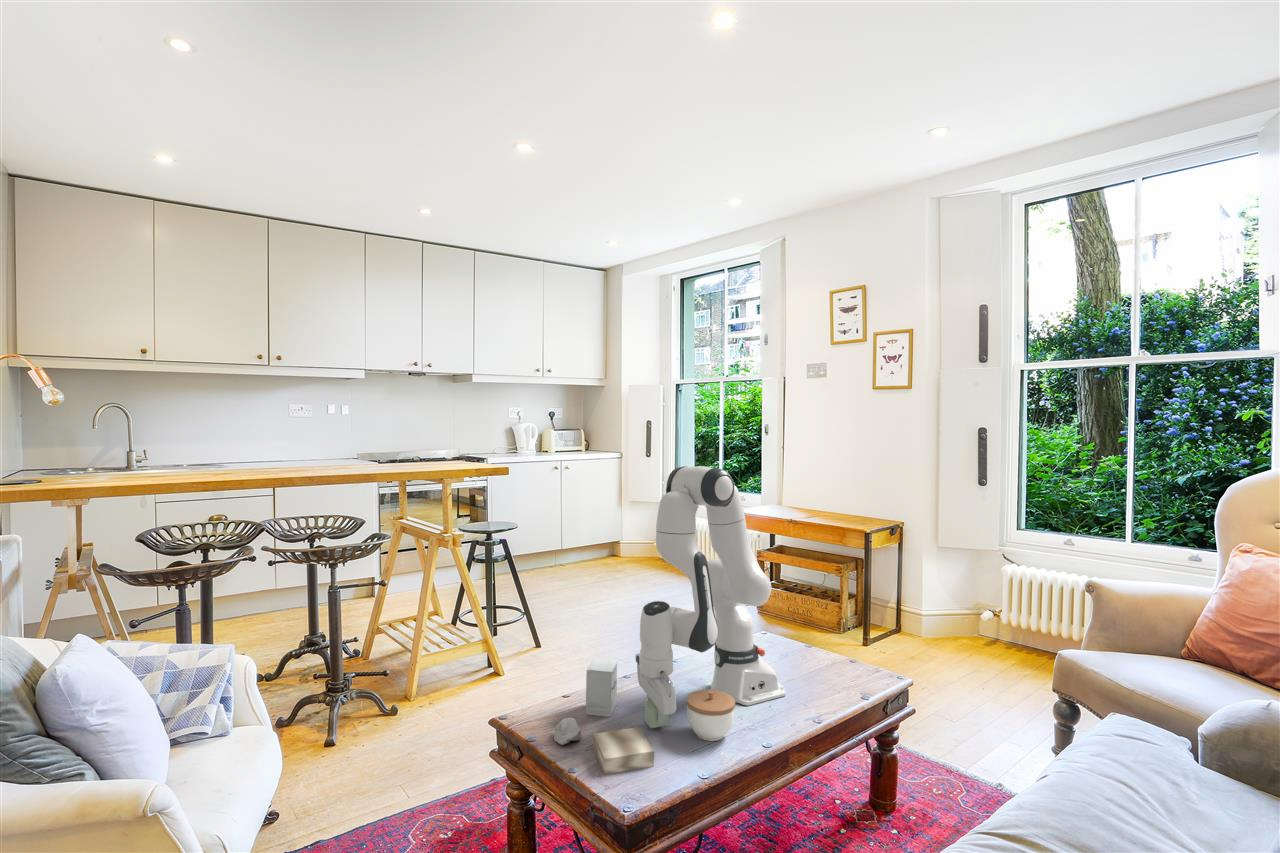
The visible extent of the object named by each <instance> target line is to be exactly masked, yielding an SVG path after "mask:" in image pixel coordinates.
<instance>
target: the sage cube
mask: <svg viewBox="0 0 1280 853" xmlns="http://www.w3.org/2000/svg"><path fill="white" fill-rule="evenodd" d="M657 714H658V708H657V707H656V706H655V704H654V703H653V702H652V700H644V720H645V722H646V724H648V726H649V728H650V729H654V728H659V727H660V728H661V727H665V726H669V724H670V723H669V721H670V720H669V719H670V718H669V716H670V715H665V722H664V723H659V722H658V721H657Z"/></svg>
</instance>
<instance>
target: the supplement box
mask: <svg viewBox="0 0 1280 853" xmlns="http://www.w3.org/2000/svg"><path fill="white" fill-rule="evenodd" d="M585 675H586V678H585V681H586V683H585V685H586V686H585V689H586V690H585V714H586V715H589V716H596V717H597V716H598V717H604V718H605V717H606V718H607V717H609V718H610V717H611V716H612V714H613V712H614V710H615V708H616V706H617V697H618V696H617V695H618V694H617V693H618V692H617V691H618V662H616V661H606V660H605V661H604V660H592V662H591V663H590V664H589V666H588V668H587V669H586V674H585Z"/></svg>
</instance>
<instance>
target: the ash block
mask: <svg viewBox="0 0 1280 853" xmlns="http://www.w3.org/2000/svg"><path fill="white" fill-rule="evenodd" d="M592 749H593V752H594V753H595V756H596V758H597V760H598V763H599V764H600V767H601V769H602V771H603V773H604V775H609V774H616V773H619V772H625V771H626V772H627V771H632V770H638V769H639V770H640V769H646V768H651V767H654V766H655V750H654V749H653V747H652V745H651V744H650V743H649V741H648V740H647V738H646V736H645V735H644V733H643V731H642V730H641V727H639V726H637V727H630V728H623V729H617V730H610V731H604V732H603V731H602V732H596V733H592Z"/></svg>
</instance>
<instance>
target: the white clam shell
mask: <svg viewBox="0 0 1280 853" xmlns="http://www.w3.org/2000/svg"><path fill="white" fill-rule="evenodd" d="M553 734H554V735H553V740H554V741H555V742H557V743H558V744H560V745H561V746H564V745H566V744H569V743H570V741H575V742H576V741H579V740H581V739H582V734H583V733H582V730H581V729H580V728H579V725H578V723H577V721H576V719H575V718H573V717H565V718H562V720H560V721H559V722H558V723H557V725H556V726H554V733H553Z"/></svg>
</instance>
